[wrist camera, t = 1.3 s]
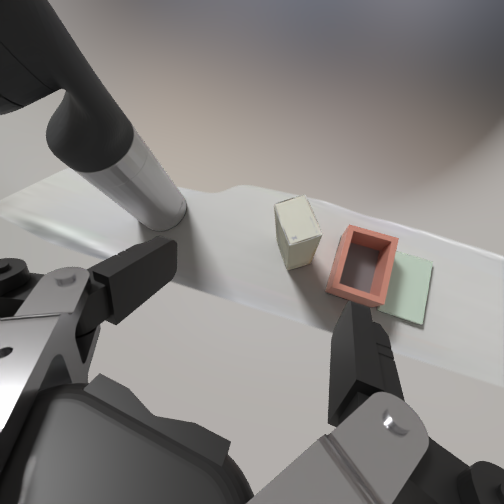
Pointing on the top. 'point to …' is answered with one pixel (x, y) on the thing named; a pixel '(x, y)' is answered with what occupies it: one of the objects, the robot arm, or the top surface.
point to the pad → (408, 288)
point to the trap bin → (362, 266)
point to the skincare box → (296, 231)
